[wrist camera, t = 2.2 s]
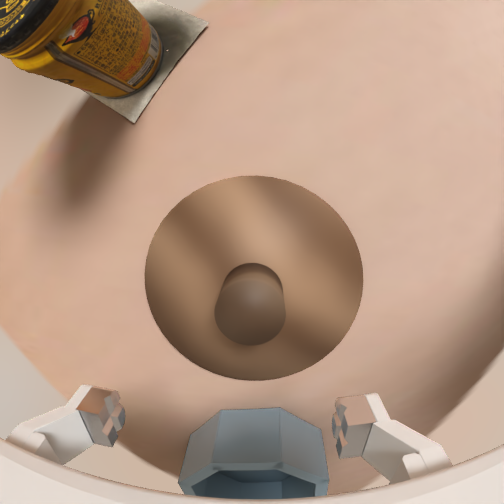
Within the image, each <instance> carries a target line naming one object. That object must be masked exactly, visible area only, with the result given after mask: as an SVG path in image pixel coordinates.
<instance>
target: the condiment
mask: <svg viewBox="0 0 504 504" xmlns="http://www.w3.org/2000/svg"><path fill="white" fill-rule="evenodd" d="M208 24H209V22H207V21H204V20H202V19H199V18H197V17H195V16H192V15H190V14H188V13H186V12H183V11H181V10H178V9H176V8H173V7H171V6H168V5H166V4H163V3H161V2H159V1H156V0H0V54H1V55H2V56H4V57H6V58H8V59H11V60H12V62H13V64H14V65H15V66H16V67H18V68H19V69H21V70H25V71H26V72H28V73H35V74H38V75H42V76H44V77H47V78H50V79H53V80H58V81H60V82H63V83H65V84H68V85H70V86H74V87H77V88H79V89H81V90H83V91H84V92H86V93H88V94H89V95H91V96H92V97H94V98H96V99H97V100H99V101H101V102H102V103H104V104H105V105H107V106H109V107H110V108H112V109H113V110H115V111H116V112H118V113H119V114H121V115H122V116H124V117H126V118H127V119H129V120H130V121H132V122H133V123H135V121H136V120H137V118H138V117H139V115H140V114H141V112H142V111H143V109H144V108H145V106H146V105H147V104H148V102H149V101H150V99H151V98H152V96H153V94H154V93H155V92H156V91H157V89H158V88H159V87H160V85H161V84H162V82H163V80H164V79H165V78H166V77H167V75H168V74H169V72H170V71H171V70H172V69H173V67H174V65H175V64H176V62H177V61H178V60H179V58H180V57H181V56H182V55H183V54H184V53H185V51H186V50H187V49H188V48H189V47H190V45H191V44H192V43H193V42H194V40H195V39H196V38H197V36H198V35H199V34H200V32H201V31H202V30H203V29H204V28H205V27H206V26H207V25H208ZM166 50H168V51H166Z"/></svg>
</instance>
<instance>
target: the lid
mask: <svg viewBox="0 0 504 504" xmlns="http://www.w3.org/2000/svg"><path fill="white" fill-rule="evenodd" d="M145 288H146V294H147V299H148V303H149V306H150V309H151V312H152V314H153V316H154V319H155V321H156V323H157V325H158V326H159V328H160V329H161V331H162V333H163V334H164V335H165V337H166V338H167V339H168V340H169V342H170V343H171V344H172V345H173V346H174V347H175V348H176V349H177V350H178V351H179V352H180V353H181V354H183V355H184V356H185V357H187V358H188V359H189V360H190V361H192V362H194V363H195V364H197V365H199V366H200V367H202V368H204V369H207V370H209V371H211V372H213V373H216V374H219V375H222V376H225V377H230V378H235V379H242V380H269V379H277V378H281V377H285V376H289V375H292V374H294V373H297V372H300V371H302V370H304V369H306V368H308V367H310V366H312V365H314V364H315V363H317V362H318V361H320V360H321V359H323V358H324V357H325V356H326V355H327V354H329V353H330V352H331V351H332V350H333V349H334V348H335V347H336V346H337V345H338V344H339V343H340V342H341V340H342V339H343V338H344V336H345V335H346V333H347V332H348V331H349V329H350V327H351V325H352V323H353V321H354V319H355V317H356V314H357V312H358V309H359V306H360V301H361V297H362V290H363V268H362V262H361V257H360V253H359V250H358V247H357V245H356V242H355V239H354V237H353V235H352V234H351V232H350V230H349V228H348V226H347V225H346V224H345V222H344V221H343V220H342V218H341V217H340V216H339V214H338V213H337V212H336V211H335V210H334V209H333V208H332V207H331V206H330V205H329V204H328V203H326V202H325V201H324V200H322V199H321V198H320V197H318V196H317V195H316V194H314V193H312V192H310V191H309V190H307V189H305V188H303V187H301V186H299V185H296V184H294V183H291V182H289V181H286V180H281V179H277V178H273V177H265V176H239V177H233V178H228V179H223V180H220V181H217V182H214V183H211V184H208V185H206V186H204V187H202V188H200V189H198V190H196V191H194V192H193V193H191V194H190V195H189V196H187V197H186V198H184V199H183V200H182V201H180V202H179V203H178V204H177V205H176V206H175V207H174V208H173V209H172V210H171V211H170V212H169V213H168V215H167V216H166V217H165V218H164V220H163V221H162V222H161V224H160V226H159V227H158V229H157V231H156V233H155V234H154V237H153V239H152V242H151V244H150V247H149V251H148V255H147V259H146V266H145Z"/></svg>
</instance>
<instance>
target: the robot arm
mask: <svg viewBox="0 0 504 504" xmlns="http://www.w3.org/2000/svg"><path fill="white" fill-rule="evenodd" d="M119 400H120V396H119V393H118V392H117V391H116V390H112V389H107V388H102V387H97V386H91V385H87V384H83V385H81V386H80V387H79V389H78V390H77V391H76V393H75V394H74V395H73V396H72V398H71V399H70V400H69V402H68V403H67V404H66V406H65V407H64V406H61V407H58V408H56V409H54V410H51V411H49V412H46V413H44V414H42V415H40V416H37V417H35V418H32V419H30V420H27V421H25V422H22V423H20V424H18V426H16V428H15V429H14V430H13V431H12V433H11V434H10V435H9V436H8V437H7V439H6V440H4V439H2V438H0V504H504V444H503V445H501V446H499V447H497V448H494V449H492V450H490V451H488V452H486V453H483V454H481V455H479V456H476V457H474V458H472V459H469V460H467V461H464V462H462V463H459V464H456V465H454V466H453V465H452V463H451V462H450V460H449V458H448V456H447V454H446V453H445V451H444V449H443V448H442V446H441V444H439V443H437V442H435V441H433V440H431V439H429V438H427V437H425V436H424V435H422V434H420V433H418V432H416V431H414V430H413V429H411V428H409V427H407V426H405V425H403V424H402V423H400V422H398V421H396V420H395V419H394V420H391V419H390V417H389V415H388V413H387V411H386V409H385V407H384V405H383V403H382V401H381V399H380V397H379V395H378V394H377V393H370V394H363V395H357V396H348V397H338V398H337V399H336V403H335V407H336V412H335V413H334V414H333V419H332V430H333V435H334V438H336V439H337V444H336V448H337V451H338V455H339V459H341V458H350V457H358V456H362V458H363V459H365V460H366V461H367V462H368V463H369V464H370V465H371V466H373V467H374V468H375V469H376V470H377V471H378V472H380V473H381V474H382V475H383V476H384V477H386V478H387V479H388V480H389V481H390V483H389V485H385V486H381V487H376V488H371V489H366V490H360V491H355V492H348V493H342V494H334V495H326V496H317V497H306V498H291V499H226V498H212V497H201V496H191V495H183V494H176V493H169V492H163V491H157V490H152V489H146V488H141V487H137V486H132V485H128V484H123V483H119V482H115V481H111V480H108V479H104V478H100V477H97V476H94V475H90V474H87V473H84V472H80V471H78V470H75V469H72V468H69V467H66V466H63V465H64V464H66V463H67V462H68V461H70V460H72V459H73V458H75V457H76V456H77V455H79V454H80V453H82V452H83V451H85V450H86V449H88V448H89V447H91V446H92V445H93V443H95V444H99V445H103V446H108V447H113V445H114V443H115V441H116V439H117V437H118V435H117V431H118V430H120V429H122V427H123V425H124V422H125V411H124V408H123V406H122V405H121V404H120V403H119Z"/></svg>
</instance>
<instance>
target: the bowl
mask: <svg viewBox="0 0 504 504" xmlns="http://www.w3.org/2000/svg"><path fill="white" fill-rule="evenodd" d="M328 482H329V475H328V468H327V462H326V456H325V450H324V444H323V439H322V433H321V429H319V428H317V427H315V426H313V425H311V424H309V423H307V422H305V421H304V420H302V419H300V418H298V417H296V416H294V415H292V414H291V413H289V412H287V411H285V410H283V409H282V408H280V407H279V408H264V409H243V410H220V411H219V412H218V413H217V414H216V415H215V416H213V417H212V418H211V419H210V420H208V421H207V422H206V423H205V424H204V425H202V426H201V427H200V428H199V429H197V430H196V431H195V432H194V433H192V434H191V435H190V439H189V443H188V446H187V450H186V454H185V458H184V461H183V465H182V469H181V473H180V476H179V480H178V484H179V485H180V487H181V489H182V491H183V492H184V494H185V495H191V496H201V497H212V498H226V499H291V498H306V497H317V496H326V495H327V490H328Z"/></svg>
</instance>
